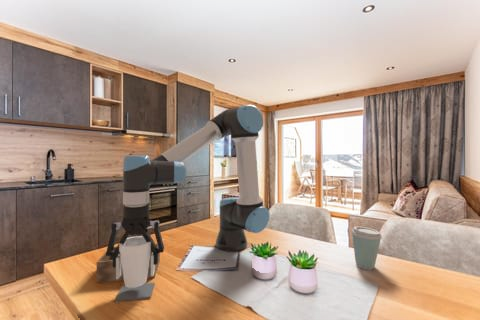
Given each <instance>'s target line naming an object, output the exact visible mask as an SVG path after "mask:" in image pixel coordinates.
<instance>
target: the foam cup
mask: <svg viewBox="0 0 480 320" xmlns="http://www.w3.org/2000/svg"><path fill="white" fill-rule="evenodd" d="M118 244H119V252H120V256H121V263H122V270H123V277H124V280H123V282H124V285H125V286H126V287H129V288H135V287H139V286H141V285H143V284H145V283H147V279H148V278H147V274H148V267H149V260H150V253H151V242H146V240H145V238H144V237H143V236H142V235H137V236H131V237H128V238H127V239H126V241H125V243H124V245H123V244H122V243H118Z"/></svg>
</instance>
